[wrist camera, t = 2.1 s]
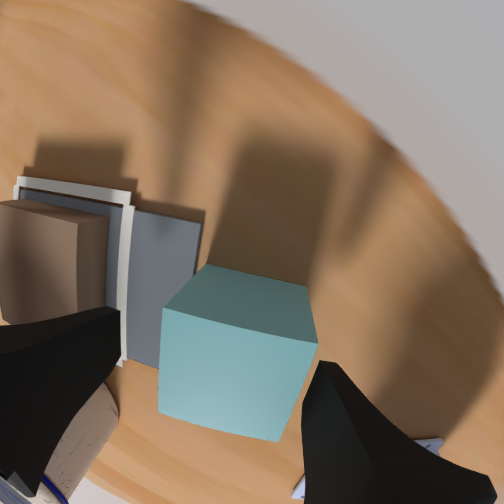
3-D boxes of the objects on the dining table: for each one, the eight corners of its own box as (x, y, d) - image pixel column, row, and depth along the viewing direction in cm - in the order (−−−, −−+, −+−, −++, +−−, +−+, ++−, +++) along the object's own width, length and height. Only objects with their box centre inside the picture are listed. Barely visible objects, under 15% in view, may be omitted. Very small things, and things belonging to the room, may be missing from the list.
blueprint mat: (206, 204, 12) (203, 205, 12) (182, 382, 14) (179, 387, 14) (19, 175, 13) (14, 175, 12) (22, 313, 15) (18, 315, 15)
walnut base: (110, 216, 12) (77, 223, 10) (107, 342, 14) (83, 365, 11) (24, 198, 13) (-6, 202, 10) (27, 305, 14) (2, 318, 12)
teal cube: (306, 285, 12) (318, 343, 8) (281, 367, 13) (278, 441, 9) (206, 263, 13) (163, 307, 8) (193, 347, 14) (158, 412, 9)
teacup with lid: (33, 307, 15) (-91, 386, 3) (138, 391, 15) (40, 535, 4) (29, 399, 18) (-39, 466, 6) (106, 458, 18) (52, 546, 6)
